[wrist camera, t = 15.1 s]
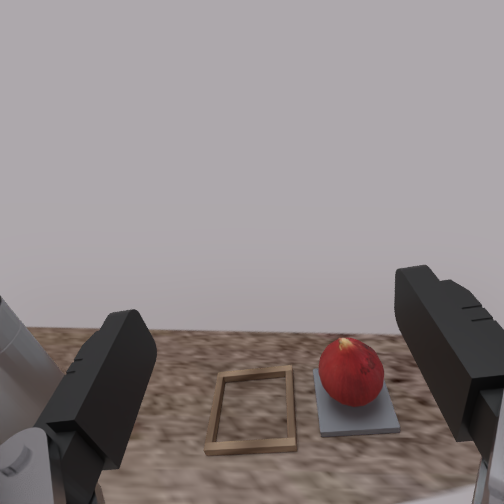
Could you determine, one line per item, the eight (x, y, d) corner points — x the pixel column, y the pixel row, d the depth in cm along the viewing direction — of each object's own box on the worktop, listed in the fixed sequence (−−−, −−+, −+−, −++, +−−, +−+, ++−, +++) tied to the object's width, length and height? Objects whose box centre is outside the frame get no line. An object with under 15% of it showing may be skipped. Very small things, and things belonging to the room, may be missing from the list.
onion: (370, 366, 34) (367, 310, 30) (395, 417, 29) (395, 358, 25) (317, 377, 34) (306, 323, 30) (332, 430, 29) (322, 373, 25)
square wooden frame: (206, 455, 30) (203, 450, 30) (220, 377, 38) (218, 372, 37) (297, 451, 29) (295, 445, 28) (292, 370, 36) (291, 365, 36)
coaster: (321, 437, 29) (320, 432, 29) (313, 373, 35) (312, 369, 35) (400, 432, 28) (400, 427, 28) (378, 367, 34) (378, 362, 34)
